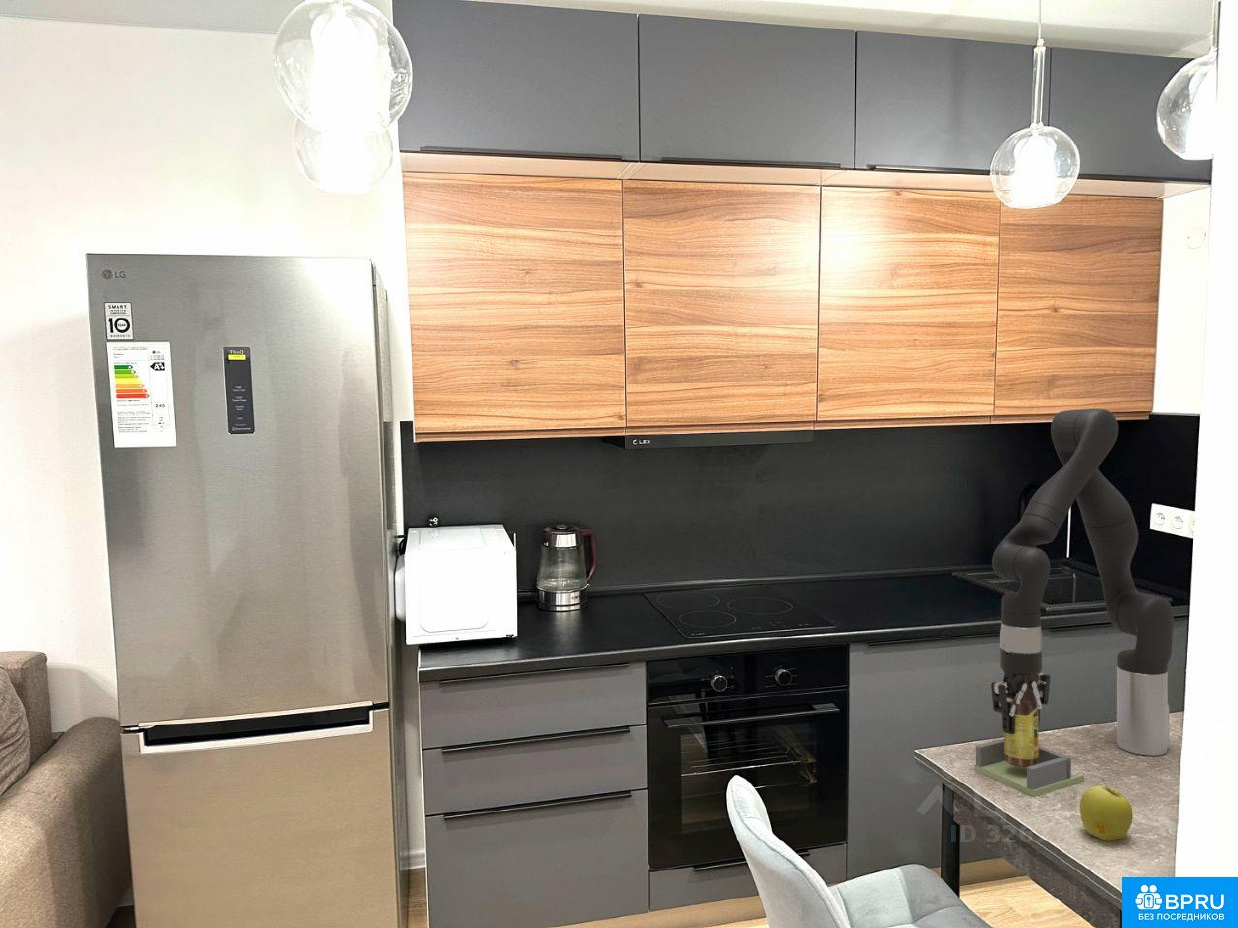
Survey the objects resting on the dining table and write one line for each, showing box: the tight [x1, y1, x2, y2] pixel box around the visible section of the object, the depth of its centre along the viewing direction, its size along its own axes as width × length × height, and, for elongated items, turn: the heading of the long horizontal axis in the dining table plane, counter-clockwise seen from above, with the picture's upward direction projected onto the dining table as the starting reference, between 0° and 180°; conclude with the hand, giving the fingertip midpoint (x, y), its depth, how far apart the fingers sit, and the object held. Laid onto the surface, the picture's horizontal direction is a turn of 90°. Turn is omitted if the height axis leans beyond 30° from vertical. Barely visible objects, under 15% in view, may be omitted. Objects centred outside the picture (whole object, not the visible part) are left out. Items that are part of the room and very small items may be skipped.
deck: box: [974, 738, 1085, 797], centre depth 175 cm, size 14×14×5 cm
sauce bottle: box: [1003, 675, 1040, 768], centre depth 174 cm, size 7×6×20 cm
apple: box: [1079, 777, 1134, 841], centre depth 151 cm, size 8×8×10 cm
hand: (1021, 729), depth 174 cm, fingers closed on sauce bottle, 6 cm apart
